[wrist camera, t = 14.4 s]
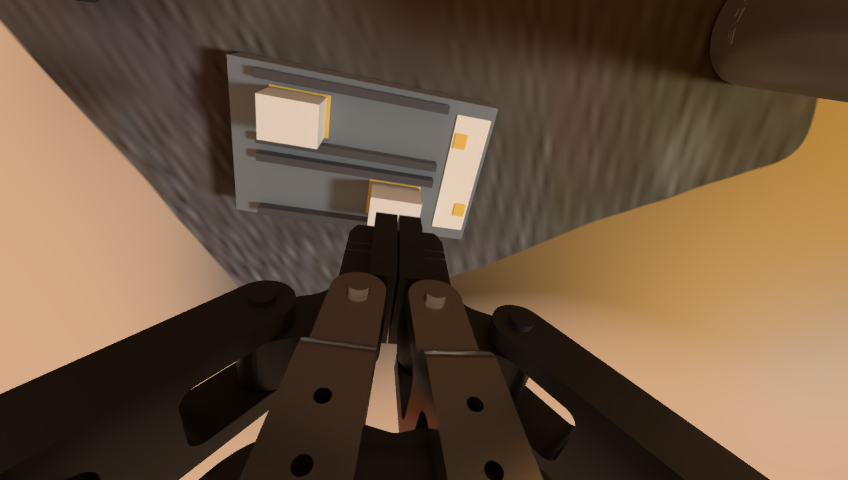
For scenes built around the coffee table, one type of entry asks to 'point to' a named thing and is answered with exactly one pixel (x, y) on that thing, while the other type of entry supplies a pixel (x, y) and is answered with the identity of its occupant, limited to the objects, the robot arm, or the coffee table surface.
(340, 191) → the switch panel
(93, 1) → the ammunition clip
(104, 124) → the coffee table surface
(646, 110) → the coffee table surface
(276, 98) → the switch
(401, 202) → the switch
